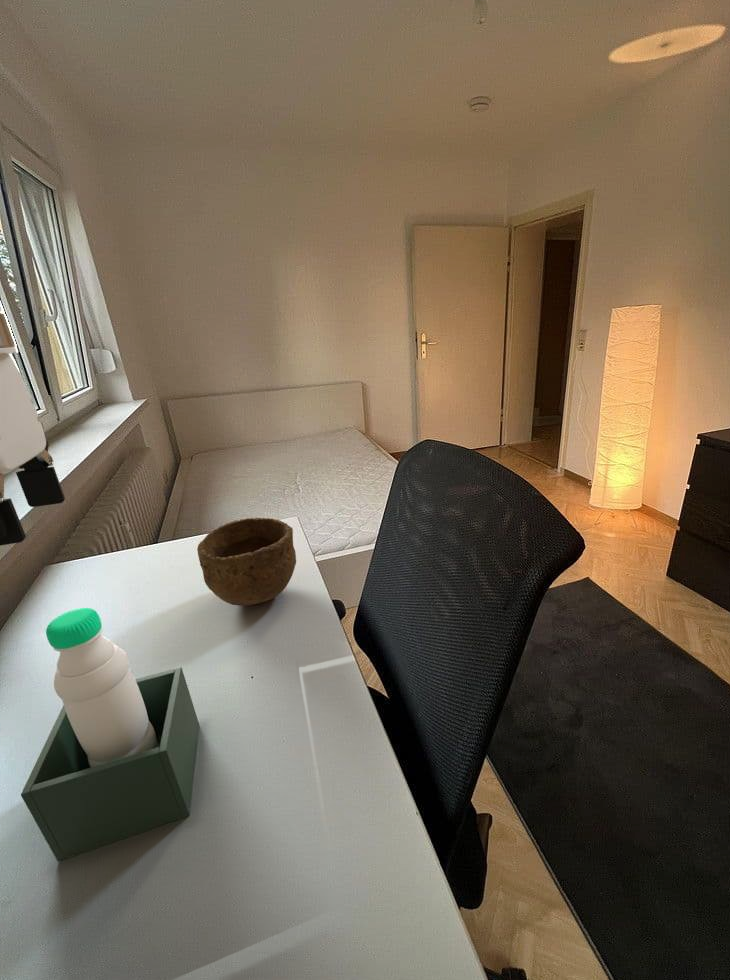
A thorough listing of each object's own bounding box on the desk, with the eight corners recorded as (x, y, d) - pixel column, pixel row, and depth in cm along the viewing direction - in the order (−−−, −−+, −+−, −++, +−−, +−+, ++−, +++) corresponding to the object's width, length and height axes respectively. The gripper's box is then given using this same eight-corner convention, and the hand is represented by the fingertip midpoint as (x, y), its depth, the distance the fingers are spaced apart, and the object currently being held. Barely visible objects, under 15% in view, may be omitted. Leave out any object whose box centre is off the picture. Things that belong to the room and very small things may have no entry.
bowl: (304, 612, 89) (293, 547, 83) (205, 633, 85) (186, 565, 79) (300, 566, 106) (291, 510, 100) (217, 581, 102) (203, 523, 96)
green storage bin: (57, 862, 49) (20, 795, 45) (94, 756, 61) (67, 696, 57) (189, 815, 53) (166, 750, 49) (199, 725, 65) (181, 666, 61)
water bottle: (111, 764, 59) (43, 608, 50) (169, 745, 61) (115, 592, 52) (97, 816, 52) (17, 648, 43) (162, 793, 55) (99, 628, 45)
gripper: (-41, 338, 44) (22, 498, 50) (-194, 345, 28) (-76, 573, 35) (48, 334, 46) (97, 487, 52) (-50, 338, 31) (37, 554, 37)
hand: (28, 522), depth 44 cm, fingers open, 9 cm apart
